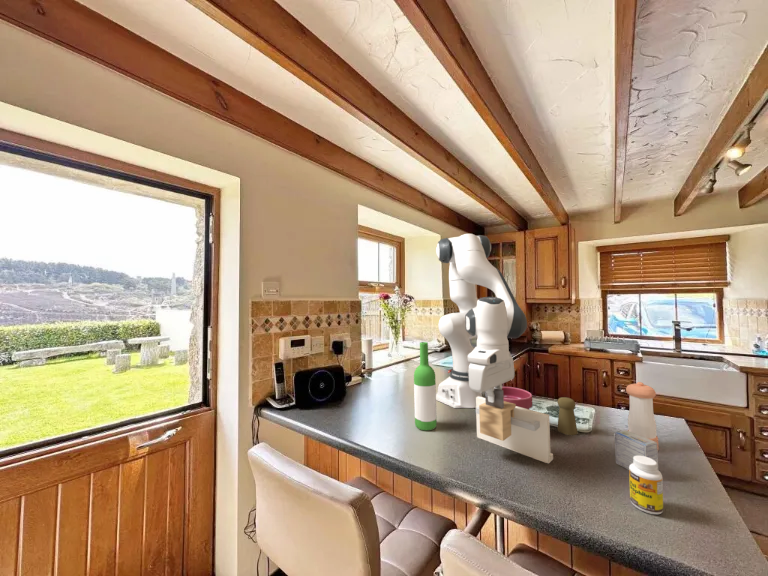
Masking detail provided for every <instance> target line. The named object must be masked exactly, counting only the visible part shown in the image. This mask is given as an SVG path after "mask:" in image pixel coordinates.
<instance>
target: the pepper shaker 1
mask: <svg viewBox="0 0 768 576" xmlns="http://www.w3.org/2000/svg"><path fill="white" fill-rule="evenodd" d="M557 405H558V407H559V410H558V416H557V417H558V418H557V426H556V427H557V428H556V429H557V432H559V433H561V434H564V435H567V436H577V435H578V433H579V432H578V428H577V420H576V415H575V408H576V401H575V400H574V399H572V398H570V397H565V396H564V397H562V396H561V397H559V398H558V399H557Z"/></svg>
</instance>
